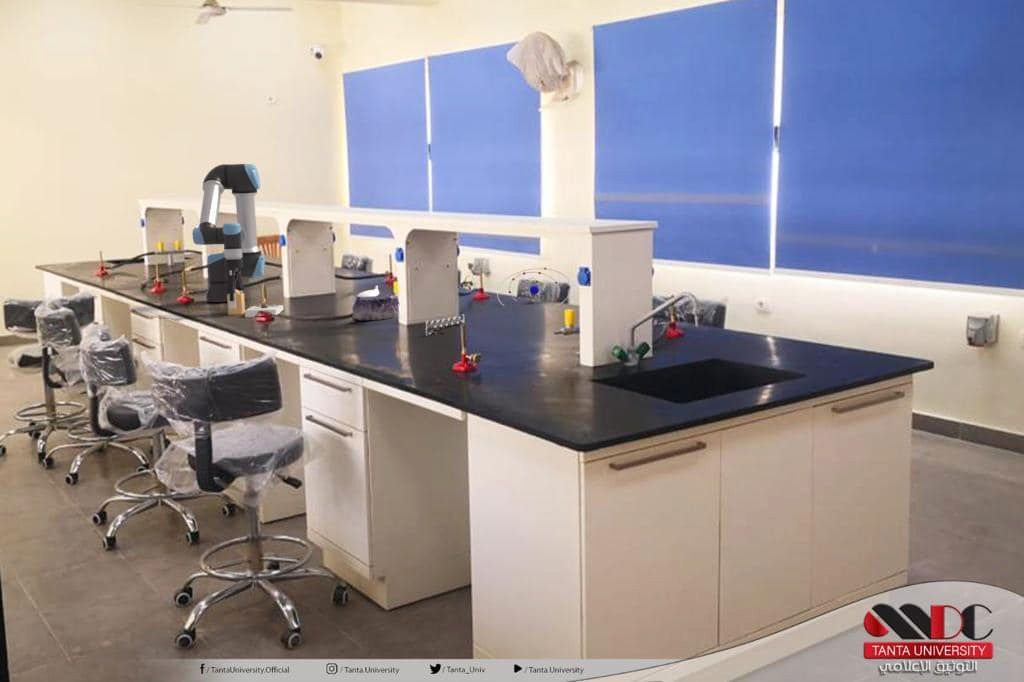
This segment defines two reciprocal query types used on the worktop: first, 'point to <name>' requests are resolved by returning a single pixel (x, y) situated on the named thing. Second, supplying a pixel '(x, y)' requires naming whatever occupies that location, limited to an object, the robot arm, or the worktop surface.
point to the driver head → (369, 293)
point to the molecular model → (442, 324)
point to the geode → (375, 309)
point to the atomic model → (533, 289)
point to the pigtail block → (263, 309)
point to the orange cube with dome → (237, 304)
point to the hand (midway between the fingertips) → (236, 306)
